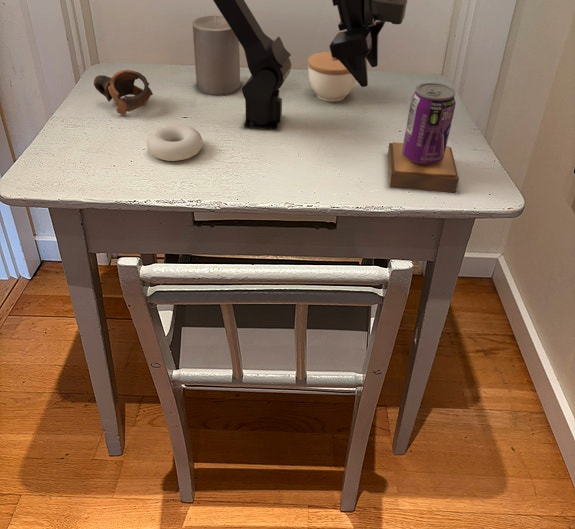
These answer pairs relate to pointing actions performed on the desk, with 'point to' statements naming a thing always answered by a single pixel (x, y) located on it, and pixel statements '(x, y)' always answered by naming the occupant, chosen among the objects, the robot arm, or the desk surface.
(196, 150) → the donut
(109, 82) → the pottery mug
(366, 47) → the robot arm
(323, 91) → the trinket box
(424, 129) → the beverage can
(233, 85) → the pillar candle
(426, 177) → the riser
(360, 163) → the desk surface
